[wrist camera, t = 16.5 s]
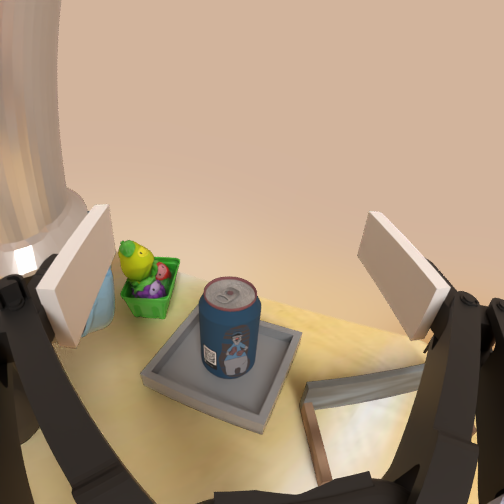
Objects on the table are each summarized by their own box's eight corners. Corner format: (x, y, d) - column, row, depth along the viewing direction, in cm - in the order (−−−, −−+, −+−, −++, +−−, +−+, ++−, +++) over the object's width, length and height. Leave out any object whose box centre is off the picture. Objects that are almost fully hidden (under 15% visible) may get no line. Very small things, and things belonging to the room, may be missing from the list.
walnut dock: (469, 438, 28) (489, 418, 26) (318, 487, 25) (331, 472, 23) (437, 378, 38) (452, 356, 35) (299, 404, 35) (307, 381, 33)
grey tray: (143, 385, 36) (140, 373, 35) (201, 313, 49) (200, 301, 48) (262, 434, 31) (264, 425, 30) (299, 344, 44) (302, 332, 43)
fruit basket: (171, 325, 46) (164, 263, 40) (117, 320, 46) (103, 259, 40) (182, 282, 56) (179, 225, 50) (136, 279, 55) (128, 223, 50)
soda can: (226, 336, 44) (228, 266, 38) (265, 361, 40) (275, 291, 34) (191, 363, 39) (184, 291, 33) (230, 393, 35) (233, 322, 29)
